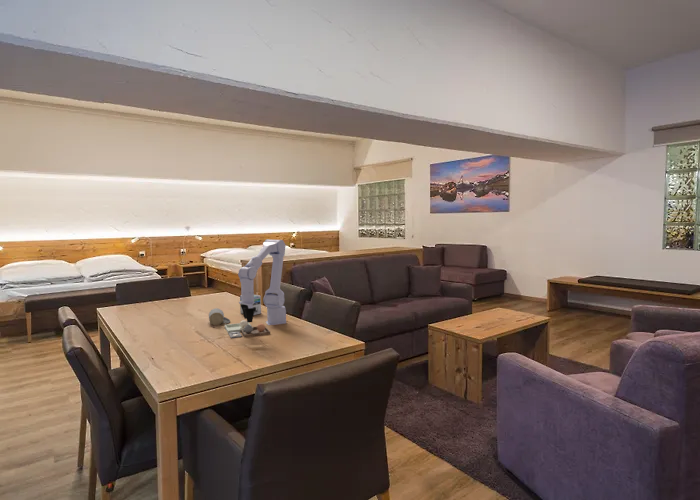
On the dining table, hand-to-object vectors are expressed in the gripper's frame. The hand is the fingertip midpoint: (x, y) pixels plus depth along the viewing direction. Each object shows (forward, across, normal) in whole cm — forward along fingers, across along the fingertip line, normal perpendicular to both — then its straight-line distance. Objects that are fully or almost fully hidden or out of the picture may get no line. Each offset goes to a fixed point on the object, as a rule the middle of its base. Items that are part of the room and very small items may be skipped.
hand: (248, 320), depth 197 cm
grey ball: (+6, 0, 0) cm, 6 cm away
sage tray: (+7, -10, -3) cm, 12 cm away
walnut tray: (+7, 0, +3) cm, 7 cm away
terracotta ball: (+6, 0, +6) cm, 9 cm away
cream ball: (+6, -10, 0) cm, 12 cm away
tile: (+7, +1, -6) cm, 9 cm away
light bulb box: (+7, -42, +9) cm, 44 cm away
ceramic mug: (+7, -26, -10) cm, 29 cm away
